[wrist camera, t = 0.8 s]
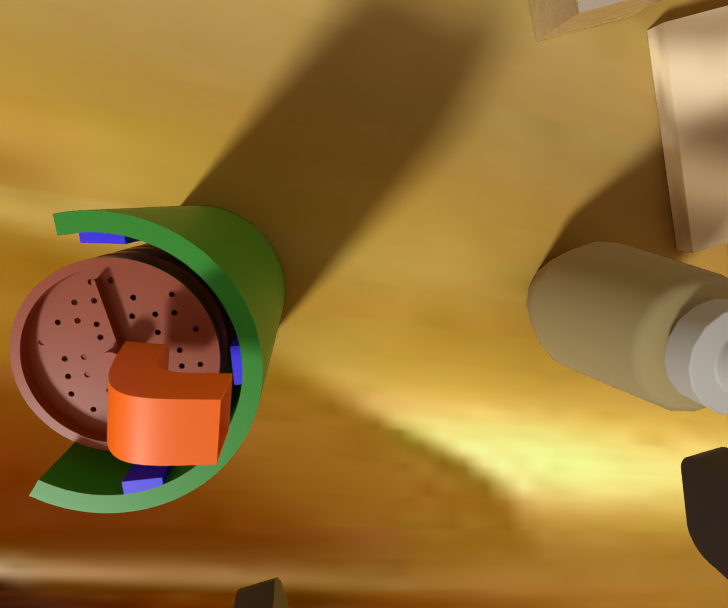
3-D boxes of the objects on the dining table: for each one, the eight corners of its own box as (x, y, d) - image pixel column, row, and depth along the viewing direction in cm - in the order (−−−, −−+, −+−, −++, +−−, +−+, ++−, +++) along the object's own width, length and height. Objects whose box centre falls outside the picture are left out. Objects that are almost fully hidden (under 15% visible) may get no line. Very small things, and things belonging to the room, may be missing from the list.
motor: (123, 209, 31) (-184, 225, 11) (276, 199, 32) (236, 198, 12) (148, 374, 33) (-75, 628, 13) (292, 360, 34) (279, 579, 14)
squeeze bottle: (531, 222, 34) (778, 245, 16) (641, 254, 35) (980, 307, 18) (493, 340, 35) (685, 480, 18) (601, 367, 36) (879, 523, 19)
